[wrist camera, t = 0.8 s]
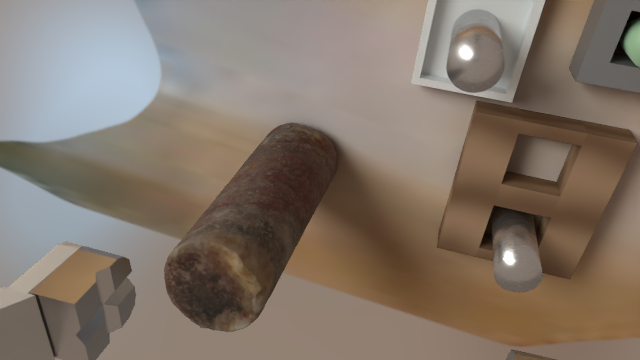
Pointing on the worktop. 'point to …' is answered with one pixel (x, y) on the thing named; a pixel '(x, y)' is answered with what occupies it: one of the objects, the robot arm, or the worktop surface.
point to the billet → (475, 52)
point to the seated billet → (515, 250)
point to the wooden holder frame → (533, 184)
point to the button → (632, 40)
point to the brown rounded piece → (251, 230)
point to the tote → (516, 32)
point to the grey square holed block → (606, 48)
